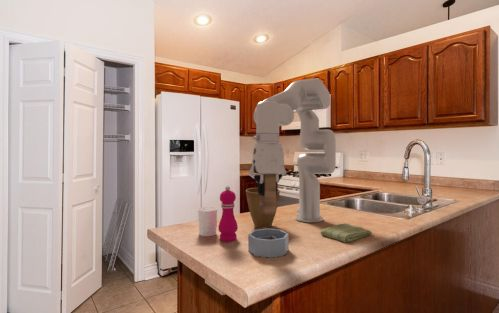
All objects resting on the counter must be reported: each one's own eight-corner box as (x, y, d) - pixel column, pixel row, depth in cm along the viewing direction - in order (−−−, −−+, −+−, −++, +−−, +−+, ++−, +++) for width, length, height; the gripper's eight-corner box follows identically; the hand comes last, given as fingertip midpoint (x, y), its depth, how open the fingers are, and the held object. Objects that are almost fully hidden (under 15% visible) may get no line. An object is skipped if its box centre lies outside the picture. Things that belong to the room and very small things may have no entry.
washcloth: (373, 235, 111) (374, 227, 111) (347, 245, 100) (347, 236, 100) (345, 228, 121) (345, 220, 121) (317, 236, 111) (317, 227, 111)
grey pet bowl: (244, 247, 98) (243, 231, 97) (275, 242, 103) (275, 227, 103) (260, 260, 86) (260, 242, 86) (294, 253, 91) (294, 236, 91)
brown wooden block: (259, 212, 95) (259, 167, 94) (270, 211, 96) (270, 167, 96) (265, 214, 91) (265, 168, 91) (276, 213, 93) (276, 167, 92)
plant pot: (240, 224, 127) (240, 188, 127) (268, 220, 134) (268, 186, 134) (256, 232, 114) (255, 193, 114) (286, 227, 121) (286, 190, 120)
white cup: (198, 237, 109) (198, 211, 108) (196, 231, 116) (196, 207, 116) (219, 235, 111) (218, 210, 110) (216, 230, 118) (215, 206, 118)
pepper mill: (227, 235, 112) (227, 184, 111) (241, 238, 107) (241, 186, 106) (214, 239, 106) (213, 186, 105) (228, 243, 101) (227, 188, 101)
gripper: (249, 138, 86) (249, 198, 87) (295, 139, 93) (295, 194, 94) (240, 139, 93) (240, 194, 94) (283, 140, 100) (283, 191, 101)
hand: (267, 194), depth 94 cm, fingers closed on brown wooden block, 4 cm apart
